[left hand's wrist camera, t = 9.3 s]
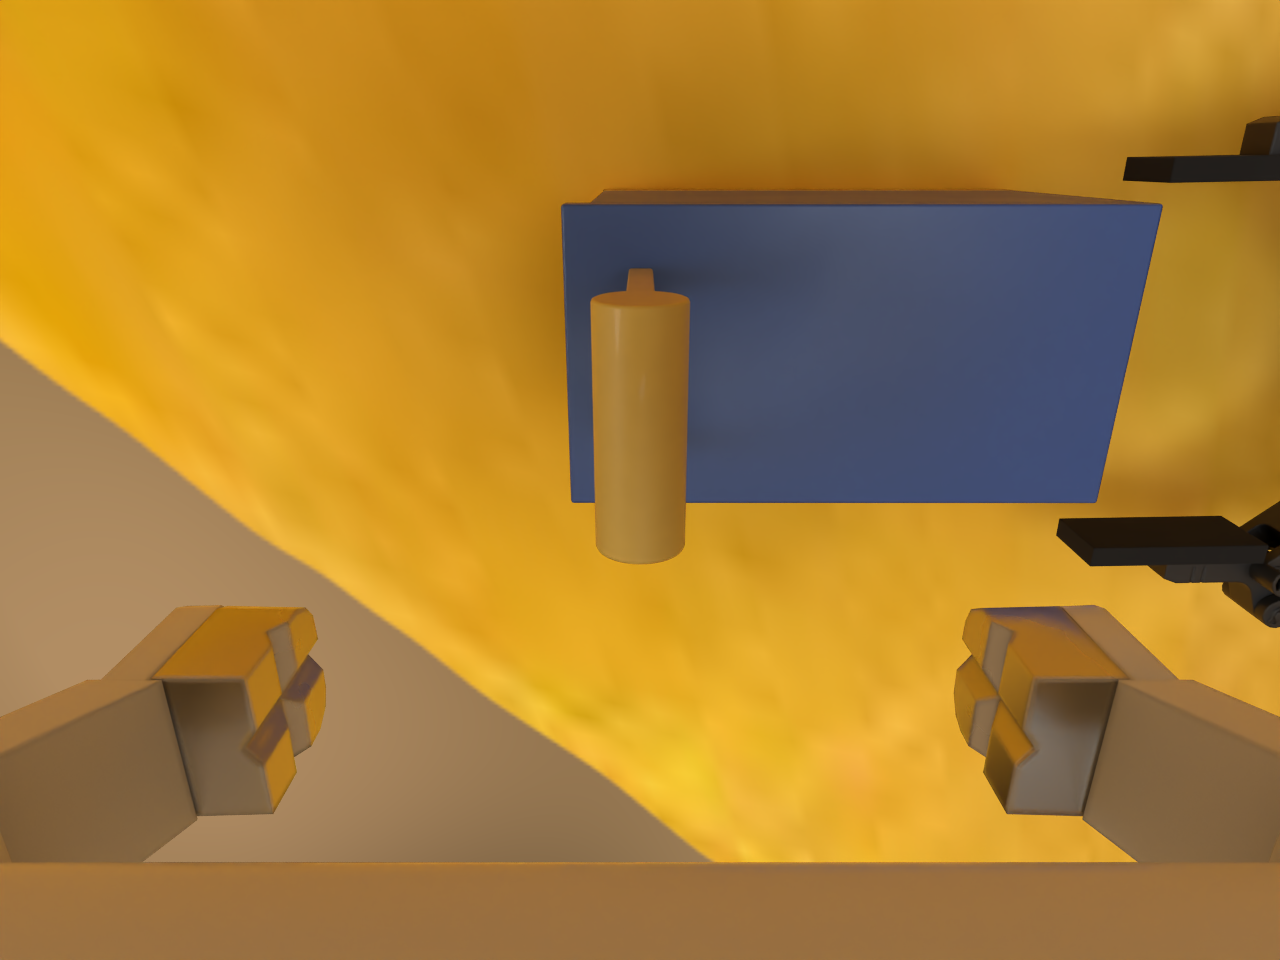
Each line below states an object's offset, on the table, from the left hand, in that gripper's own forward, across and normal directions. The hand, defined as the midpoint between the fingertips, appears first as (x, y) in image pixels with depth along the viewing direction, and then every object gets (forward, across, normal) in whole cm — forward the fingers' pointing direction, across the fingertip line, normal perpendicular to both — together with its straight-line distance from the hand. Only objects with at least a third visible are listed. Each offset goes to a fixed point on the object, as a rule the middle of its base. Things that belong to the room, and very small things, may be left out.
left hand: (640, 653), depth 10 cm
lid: (+16, +6, 0) cm, 18 cm away
